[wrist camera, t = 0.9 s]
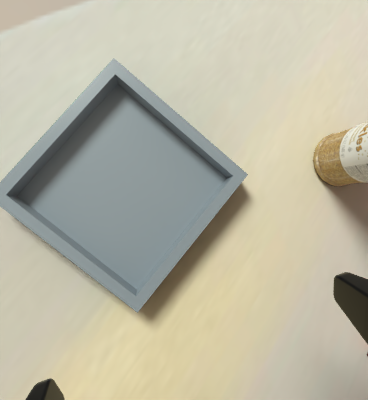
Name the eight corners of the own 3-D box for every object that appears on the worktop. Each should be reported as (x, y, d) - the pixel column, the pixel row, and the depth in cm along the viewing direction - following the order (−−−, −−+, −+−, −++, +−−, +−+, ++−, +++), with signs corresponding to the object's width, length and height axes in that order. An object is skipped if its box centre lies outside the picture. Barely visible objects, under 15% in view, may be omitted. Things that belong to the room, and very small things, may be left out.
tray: (238, 177, 23) (247, 174, 21) (138, 301, 22) (137, 312, 20) (117, 72, 22) (113, 58, 20) (4, 197, 21) (-13, 196, 18)
